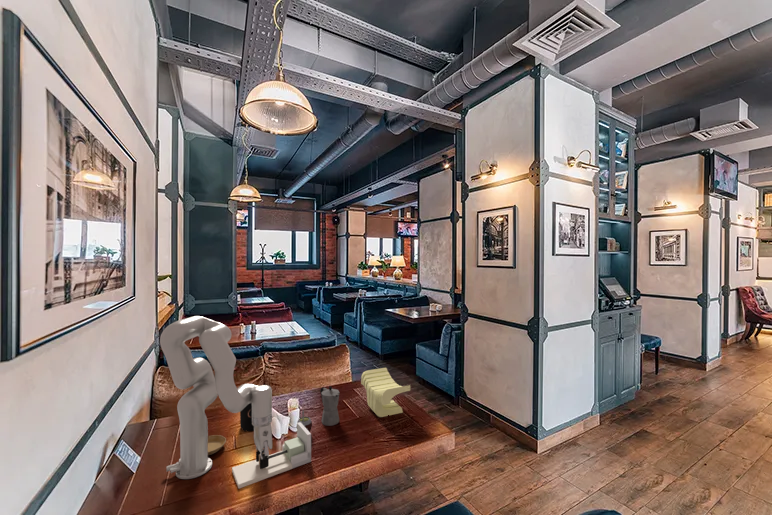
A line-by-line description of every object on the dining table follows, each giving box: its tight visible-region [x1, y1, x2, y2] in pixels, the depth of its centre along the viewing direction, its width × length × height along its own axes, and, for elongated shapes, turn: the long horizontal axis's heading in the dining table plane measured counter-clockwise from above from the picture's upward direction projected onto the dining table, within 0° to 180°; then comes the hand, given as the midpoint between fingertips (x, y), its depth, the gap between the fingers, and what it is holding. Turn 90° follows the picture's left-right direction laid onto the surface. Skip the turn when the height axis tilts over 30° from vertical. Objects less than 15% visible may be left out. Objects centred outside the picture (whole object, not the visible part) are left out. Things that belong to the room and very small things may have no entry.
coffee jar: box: [239, 403, 254, 432], centre depth 167 cm, size 11×11×18 cm
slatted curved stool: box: [360, 367, 411, 418], centre depth 185 cm, size 30×16×18 cm, turn 25°
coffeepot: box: [319, 386, 341, 427], centre depth 173 cm, size 15×9×18 cm, turn 44°
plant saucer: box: [208, 434, 227, 456], centre depth 147 cm, size 15×15×3 cm
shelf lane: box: [231, 422, 312, 489], centre depth 136 cm, size 28×12×12 cm, turn 125°
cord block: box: [259, 436, 304, 466], centre depth 138 cm, size 17×7×5 cm, turn 125°
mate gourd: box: [296, 409, 313, 433], centre depth 158 cm, size 8×8×15 cm
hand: (262, 463), depth 133 cm, fingers open, 4 cm apart
